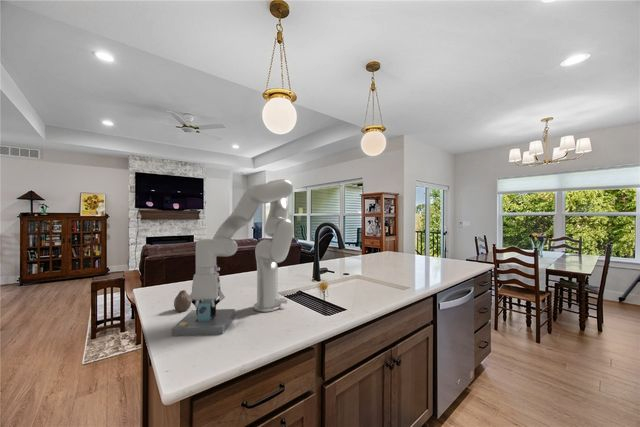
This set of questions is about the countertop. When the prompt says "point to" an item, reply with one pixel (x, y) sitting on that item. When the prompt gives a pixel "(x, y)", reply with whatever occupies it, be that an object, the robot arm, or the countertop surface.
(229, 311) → the socket plate
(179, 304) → the brown egg-shaped lump
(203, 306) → the plug
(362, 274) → the countertop surface
